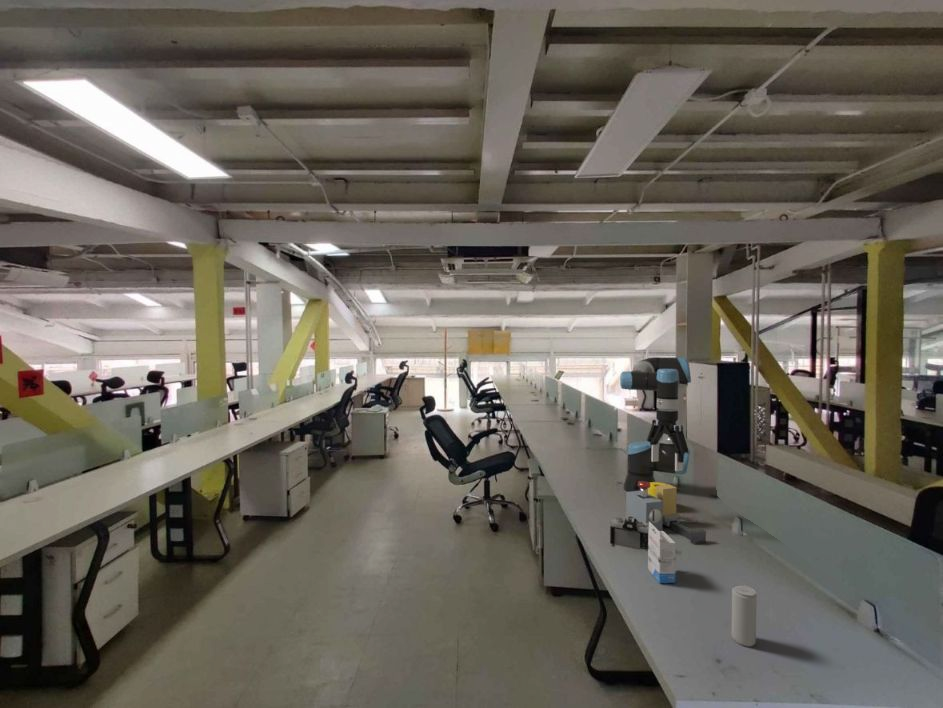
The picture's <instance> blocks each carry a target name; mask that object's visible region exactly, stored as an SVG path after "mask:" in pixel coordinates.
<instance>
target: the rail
mask: <svg viewBox="0 0 943 708" xmlns="http://www.w3.org/2000/svg"><path fill="white" fill-rule="evenodd" d="M662 525H664V524H663V523H662ZM664 526H666V525H664ZM666 527H667V528H669V529H670V530H672V531H674V532H675V533H677V534H679V535H681V536H683V537H685V538H686V539H688V540H690V544H692V545H698V544H705V543H707V531H706V530H704V529H696V530H692V529H691V528H689V527H687V526H685V525H684V524H682V523H680V522H679V523H678V522H677V521H670V526H666Z"/></svg>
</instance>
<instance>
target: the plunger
mask: <svg viewBox="0 0 943 708" xmlns="http://www.w3.org/2000/svg"><path fill="white" fill-rule="evenodd" d="M638 486H639V487H640V498H642V499H646V498H648V488H650V483H649V482H646V481H638Z"/></svg>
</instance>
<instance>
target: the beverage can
mask: <svg viewBox="0 0 943 708" xmlns="http://www.w3.org/2000/svg"><path fill="white" fill-rule="evenodd" d="M757 596H758V595H757V592H756V590H755V589H753V588H752V587H750V586H748V585H745V584H734V585H733V586H732V589H731V629H730V630H731V635H730V636H731V637H732V639H733V640H734V641H735V643H737V644H739V645H741V646H743V647H753V646H754V645H755V644H756V642H757V641H756V640H757V603H758V602H757V599H758V597H757Z"/></svg>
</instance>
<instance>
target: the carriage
mask: <svg viewBox="0 0 943 708" xmlns="http://www.w3.org/2000/svg"><path fill="white" fill-rule="evenodd" d="M656 498H657V499H659V500H661V501H663V518H662V523H663V524H662V525H664V526H665V525H666V527H667V526H670V521H677V522H678V523H680V521H681V520H682V515H680V514H679V513H677V487H676V486H674V485H672V484H670V483H669V484H668V485H658V486H656Z"/></svg>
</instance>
